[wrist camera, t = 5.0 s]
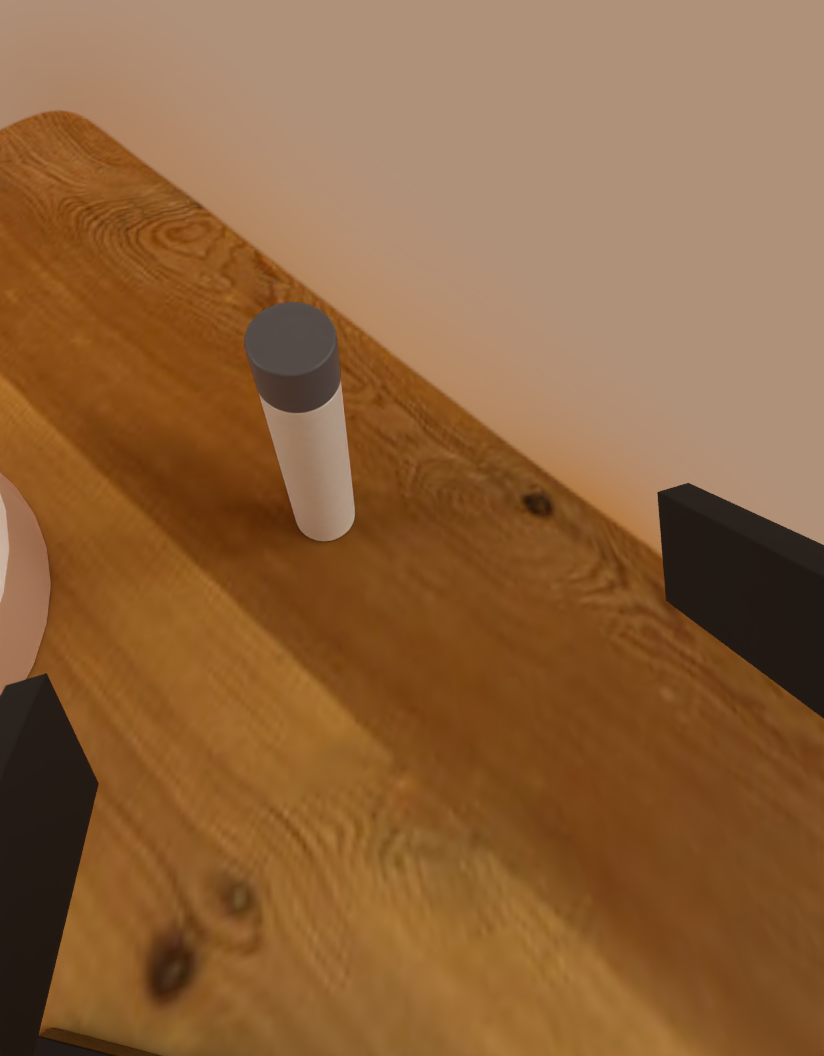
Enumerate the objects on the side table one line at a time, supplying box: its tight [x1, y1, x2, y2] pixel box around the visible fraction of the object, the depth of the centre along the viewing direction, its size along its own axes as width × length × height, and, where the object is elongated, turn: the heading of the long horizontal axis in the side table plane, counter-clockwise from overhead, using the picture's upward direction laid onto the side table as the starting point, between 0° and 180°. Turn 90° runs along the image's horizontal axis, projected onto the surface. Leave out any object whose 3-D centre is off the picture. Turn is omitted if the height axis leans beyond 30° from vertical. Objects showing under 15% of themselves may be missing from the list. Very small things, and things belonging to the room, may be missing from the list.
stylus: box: [244, 302, 355, 541], centre depth 26 cm, size 3×3×12 cm
